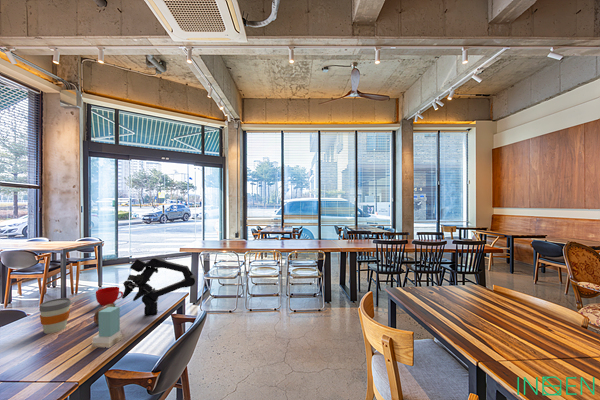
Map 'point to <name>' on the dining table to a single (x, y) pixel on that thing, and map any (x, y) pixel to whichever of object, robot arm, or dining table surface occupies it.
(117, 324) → the teal pillar
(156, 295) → the robot arm
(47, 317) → the reusable coffee cup
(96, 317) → the tin
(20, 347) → the dining table surface
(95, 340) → the tower top
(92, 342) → the tower base
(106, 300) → the ceramic cup
